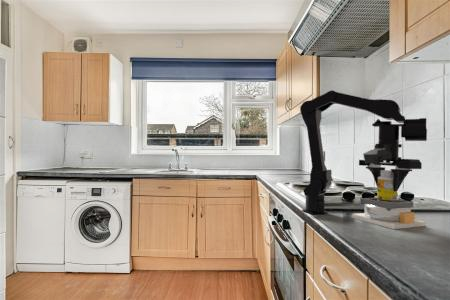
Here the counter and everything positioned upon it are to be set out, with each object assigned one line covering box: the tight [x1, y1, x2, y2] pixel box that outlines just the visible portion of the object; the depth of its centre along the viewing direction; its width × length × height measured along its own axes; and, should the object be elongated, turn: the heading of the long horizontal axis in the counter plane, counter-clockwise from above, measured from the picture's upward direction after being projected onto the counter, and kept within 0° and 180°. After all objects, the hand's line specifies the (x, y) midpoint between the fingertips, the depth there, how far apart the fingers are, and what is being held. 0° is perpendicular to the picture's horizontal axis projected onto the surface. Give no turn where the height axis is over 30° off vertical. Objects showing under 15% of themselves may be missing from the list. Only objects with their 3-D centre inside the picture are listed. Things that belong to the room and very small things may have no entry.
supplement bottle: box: [376, 169, 398, 203], centre depth 101 cm, size 6×6×10 cm
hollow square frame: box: [361, 197, 415, 224], centre depth 100 cm, size 14×13×6 cm
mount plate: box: [351, 212, 426, 230], centre depth 101 cm, size 16×13×1 cm
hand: (387, 190), depth 101 cm, fingers closed on supplement bottle, 6 cm apart
